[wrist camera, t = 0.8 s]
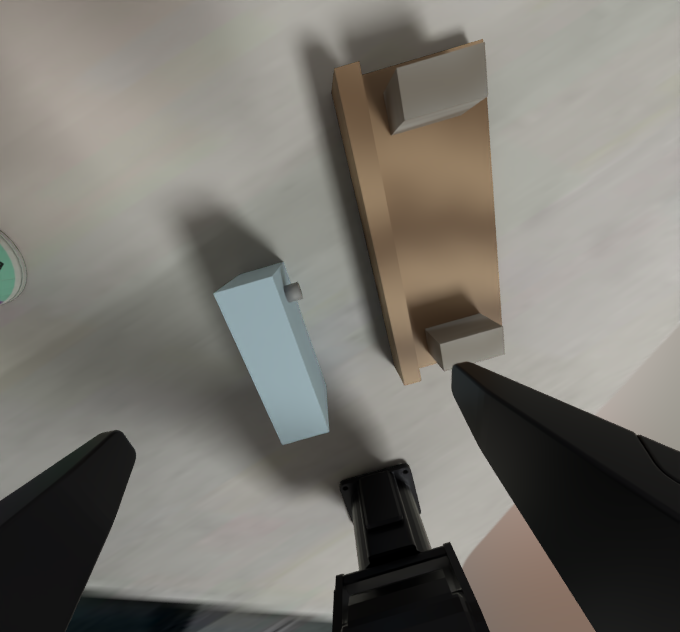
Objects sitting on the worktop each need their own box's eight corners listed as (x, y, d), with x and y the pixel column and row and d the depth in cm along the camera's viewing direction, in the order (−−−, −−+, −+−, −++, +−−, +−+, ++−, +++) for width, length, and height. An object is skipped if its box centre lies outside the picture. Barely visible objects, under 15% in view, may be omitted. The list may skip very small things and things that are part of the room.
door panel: (336, 382, 21) (341, 428, 17) (289, 395, 21) (282, 445, 17) (295, 258, 18) (288, 271, 13) (239, 274, 18) (213, 293, 13)
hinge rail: (494, 338, 21) (527, 361, 18) (394, 367, 21) (409, 394, 18) (472, 50, 15) (516, 2, 12) (331, 92, 15) (335, 56, 12)
